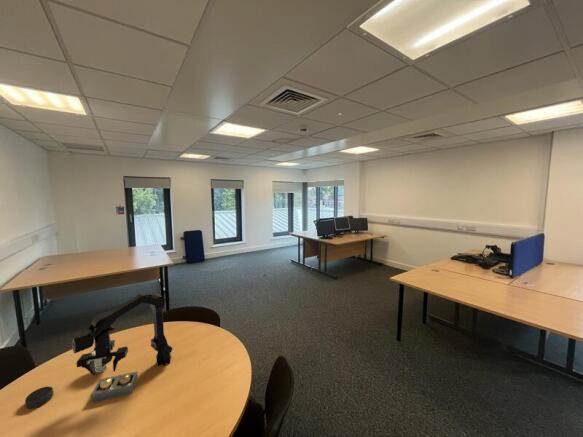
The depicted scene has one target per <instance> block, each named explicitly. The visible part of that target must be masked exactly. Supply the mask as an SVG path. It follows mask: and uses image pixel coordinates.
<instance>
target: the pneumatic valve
mask: <svg viewBox="0 0 583 437" xmlns="http://www.w3.org/2000/svg"><path fill="white" fill-rule="evenodd" d="M89 353H92V356H94V355H96V354H95V351H94V349H93V350H92V351H90V352H89ZM113 357H114V356H113ZM113 357H107V358H103V359H97V360H95V361H94V364H95V371H96V373H98V374H99V373H100V374H101V373H103V372H105V371H106V370H107V368H108V367H107V365H108V364H109V363H110V362H111V361H112V359H114V358H113Z"/></svg>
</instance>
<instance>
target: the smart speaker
mask: <svg viewBox="0 0 583 437" xmlns="http://www.w3.org/2000/svg"><path fill="white" fill-rule="evenodd" d="M53 396H54V388H53V387H52V386H44V387H40V388H37V389H35V390H34V391H32V392H31V393H29V394H28V395H27V396H26V398H25V400H24V404H25V407H26V408H28V409H34V408H37V407H40V406H42V405H44V404H46V403H47V402H49V401H50V400H51V399H52V398H53Z"/></svg>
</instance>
